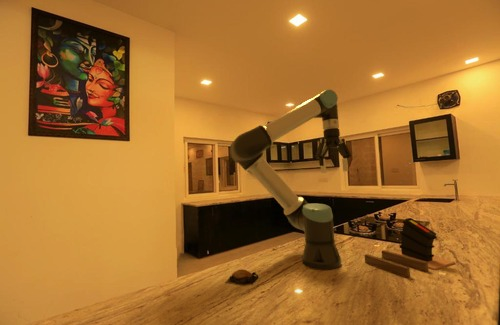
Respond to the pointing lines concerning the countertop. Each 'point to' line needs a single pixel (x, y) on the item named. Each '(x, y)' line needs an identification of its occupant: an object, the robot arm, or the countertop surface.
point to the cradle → (394, 266)
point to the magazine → (417, 240)
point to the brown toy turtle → (242, 278)
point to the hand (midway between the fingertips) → (335, 172)
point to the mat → (434, 262)
